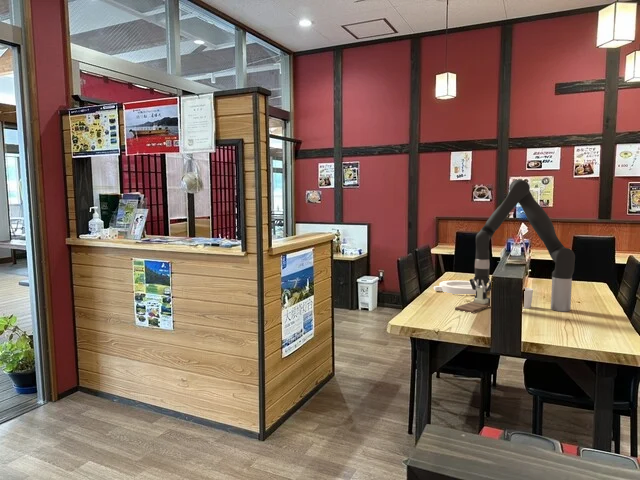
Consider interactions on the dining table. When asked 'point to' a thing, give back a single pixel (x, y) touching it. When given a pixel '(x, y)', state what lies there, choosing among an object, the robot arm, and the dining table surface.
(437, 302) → the dining table surface
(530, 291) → the white cup
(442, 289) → the ring with crossbar
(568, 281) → the robot arm
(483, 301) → the block
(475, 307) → the rail
